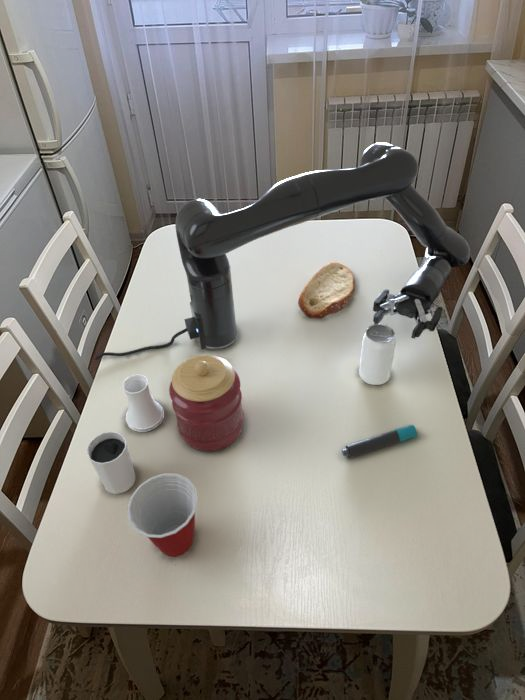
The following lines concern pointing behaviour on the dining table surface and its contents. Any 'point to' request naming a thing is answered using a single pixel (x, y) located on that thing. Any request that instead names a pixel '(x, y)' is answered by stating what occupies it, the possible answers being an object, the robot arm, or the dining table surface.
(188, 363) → the kitchen canister
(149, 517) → the plastic cup
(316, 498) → the dining table surface
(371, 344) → the can
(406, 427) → the marker
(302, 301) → the bread slice
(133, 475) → the white coffee cup
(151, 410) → the vase
